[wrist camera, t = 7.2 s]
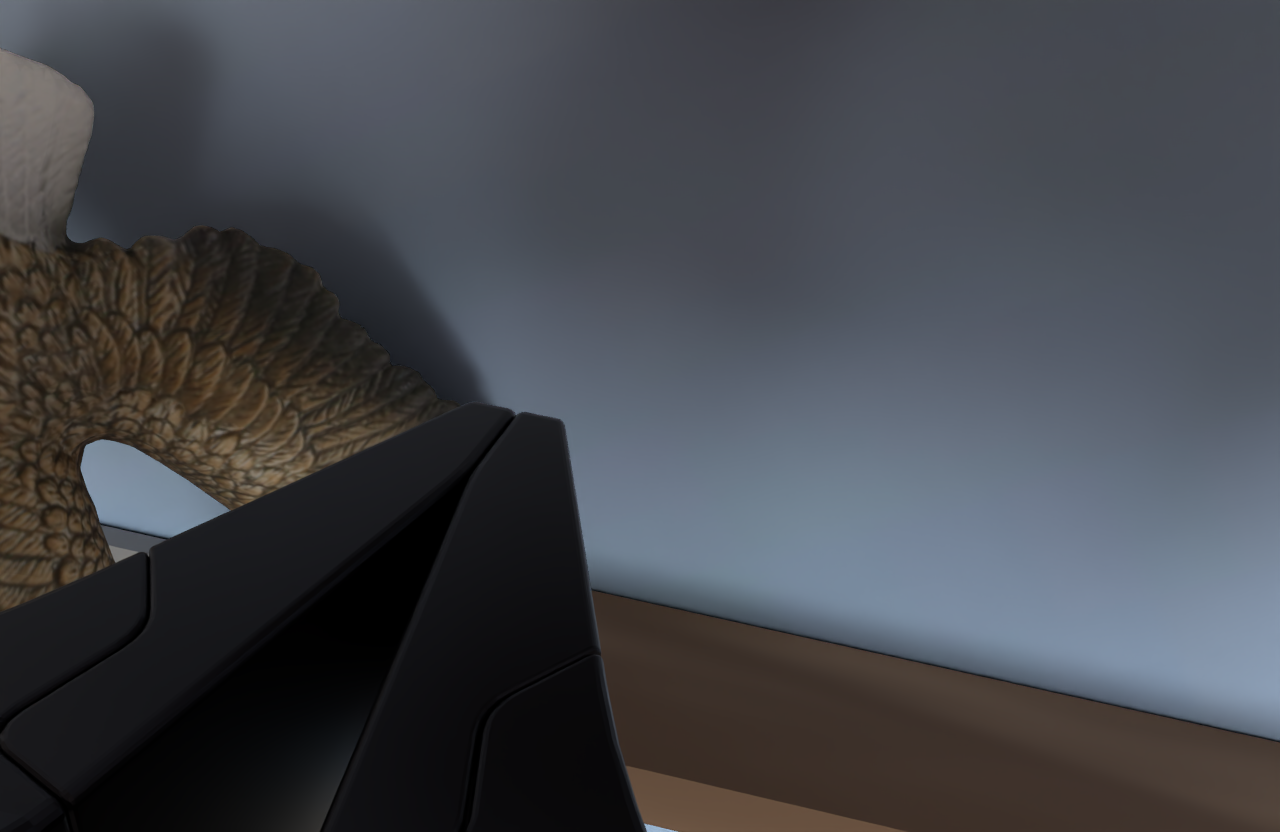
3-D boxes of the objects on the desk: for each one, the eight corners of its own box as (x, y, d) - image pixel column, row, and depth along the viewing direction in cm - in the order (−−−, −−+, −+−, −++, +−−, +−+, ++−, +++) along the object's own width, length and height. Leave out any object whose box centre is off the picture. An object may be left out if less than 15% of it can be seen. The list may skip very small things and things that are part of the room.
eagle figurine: (-264, 342, 14) (148, 821, 15) (-972, 310, 7) (-110, 1194, 8) (196, 46, 15) (550, 520, 16) (-29, -242, 8) (620, 628, 9)
